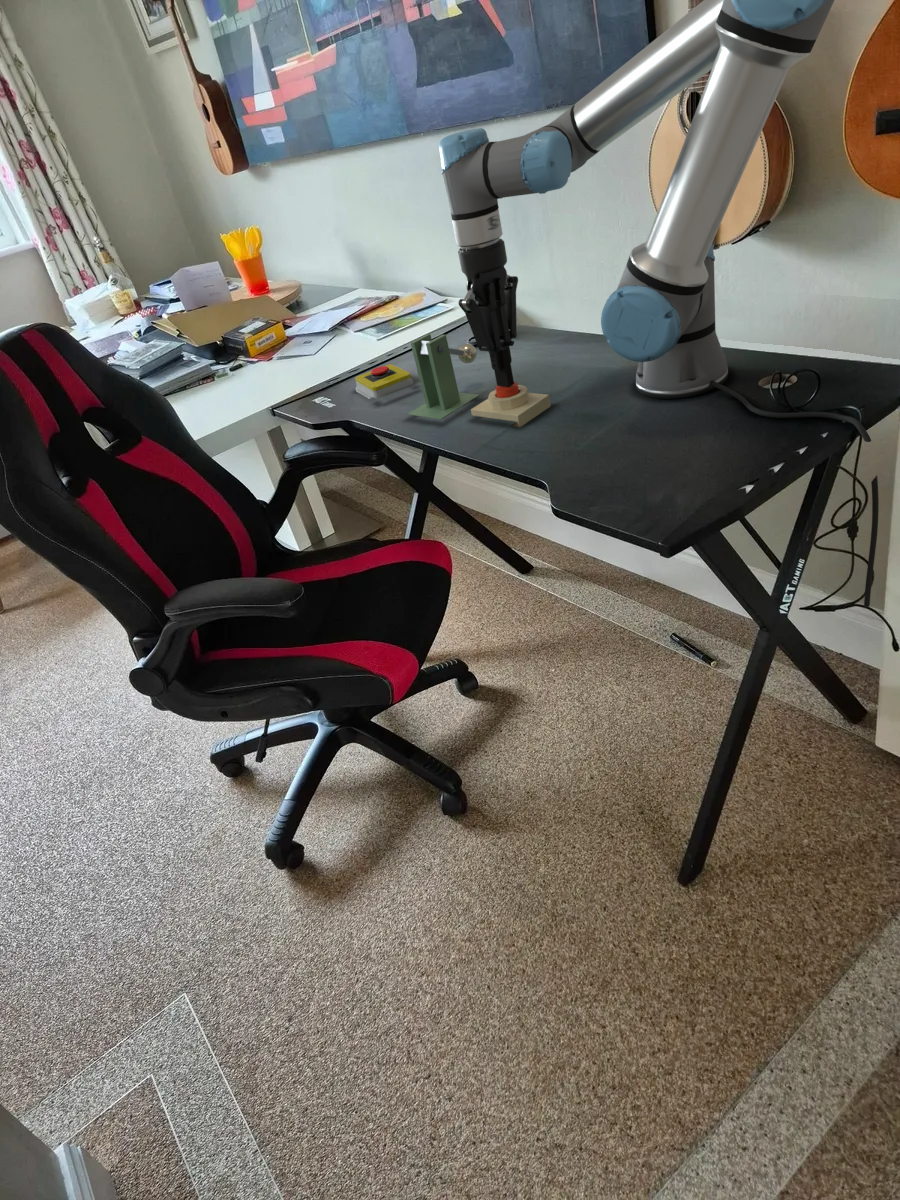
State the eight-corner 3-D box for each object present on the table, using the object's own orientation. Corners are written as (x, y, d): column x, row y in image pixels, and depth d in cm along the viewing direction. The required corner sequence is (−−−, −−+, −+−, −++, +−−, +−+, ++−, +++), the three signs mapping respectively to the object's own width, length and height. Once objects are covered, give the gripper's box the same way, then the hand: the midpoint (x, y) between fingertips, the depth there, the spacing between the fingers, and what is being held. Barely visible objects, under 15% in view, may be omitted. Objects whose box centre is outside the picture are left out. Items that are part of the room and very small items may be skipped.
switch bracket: (447, 396, 154) (431, 327, 146) (480, 400, 148) (465, 328, 141) (408, 419, 148) (390, 348, 141) (442, 424, 143) (424, 351, 135)
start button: (523, 391, 138) (522, 382, 137) (509, 401, 135) (508, 391, 134) (506, 390, 140) (504, 380, 139) (492, 398, 138) (490, 389, 137)
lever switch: (465, 363, 152) (467, 344, 151) (479, 364, 149) (481, 345, 148) (417, 357, 142) (418, 336, 141) (430, 358, 140) (432, 337, 139)
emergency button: (387, 356, 170) (415, 369, 158) (392, 375, 172) (420, 390, 161) (348, 371, 167) (374, 385, 156) (354, 390, 170) (380, 405, 158)
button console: (550, 406, 138) (547, 384, 136) (519, 427, 134) (515, 405, 132) (503, 400, 146) (500, 380, 143) (472, 420, 141) (468, 400, 139)
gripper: (471, 254, 118) (498, 401, 131) (523, 230, 125) (544, 372, 138) (436, 256, 123) (465, 397, 136) (488, 232, 129) (512, 369, 143)
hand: (505, 384), depth 137 cm, fingers closed
